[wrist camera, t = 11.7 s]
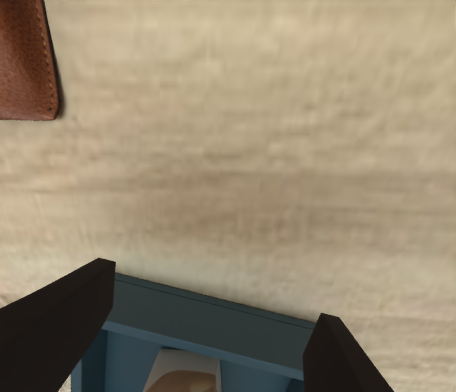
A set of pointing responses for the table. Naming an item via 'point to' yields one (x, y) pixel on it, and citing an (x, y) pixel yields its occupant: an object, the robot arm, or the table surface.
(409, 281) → the table surface
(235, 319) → the tray
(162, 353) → the cosmetic box
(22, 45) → the sunglasses case
